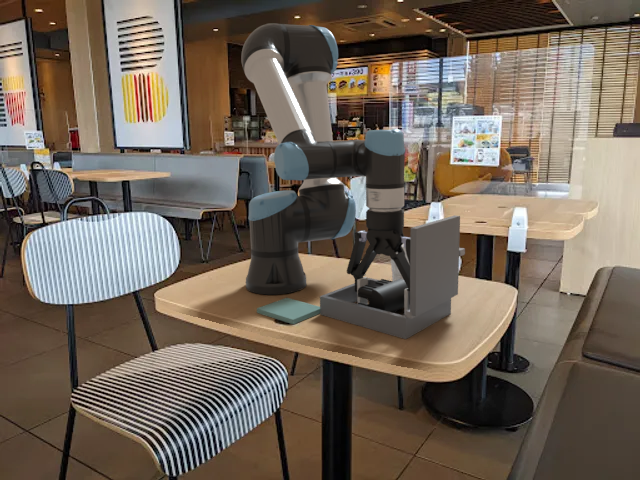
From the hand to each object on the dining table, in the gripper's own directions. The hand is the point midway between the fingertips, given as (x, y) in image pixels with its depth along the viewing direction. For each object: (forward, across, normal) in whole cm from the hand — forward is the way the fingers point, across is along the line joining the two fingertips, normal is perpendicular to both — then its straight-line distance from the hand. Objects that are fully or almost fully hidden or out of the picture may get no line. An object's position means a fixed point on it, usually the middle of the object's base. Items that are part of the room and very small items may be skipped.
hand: (385, 313), depth 105 cm
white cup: (0, -9, +22) cm, 24 cm away
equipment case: (0, +1, +1) cm, 1 cm away
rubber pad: (0, -17, -12) cm, 20 cm away
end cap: (+1, 0, 0) cm, 1 cm away
